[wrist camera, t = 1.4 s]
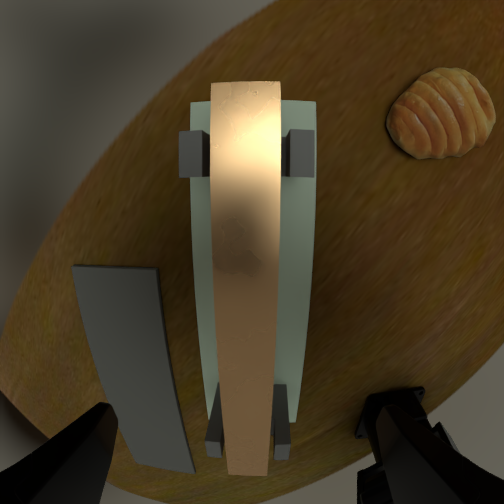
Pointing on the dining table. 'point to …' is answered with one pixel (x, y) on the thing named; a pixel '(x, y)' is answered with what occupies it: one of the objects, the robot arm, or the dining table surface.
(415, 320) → the dining table surface
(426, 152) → the pastry
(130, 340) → the rubber mat
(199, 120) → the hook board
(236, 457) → the copper rail
